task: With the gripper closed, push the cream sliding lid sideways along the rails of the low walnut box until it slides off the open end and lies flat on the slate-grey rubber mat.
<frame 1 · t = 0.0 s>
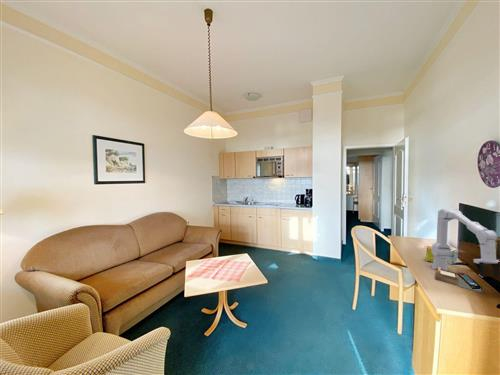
hand: (490, 276, 116), 11 cm above the table, tool pointing down, fingers open, 7 cm apart
slate mat: (468, 285, 126), on the table
lid: (446, 274, 133), point 3 cm above the table, touching walnut box
light bulb box: (448, 262, 160), on the table
walnut box: (445, 279, 133), on the table
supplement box: (430, 261, 161), on the table
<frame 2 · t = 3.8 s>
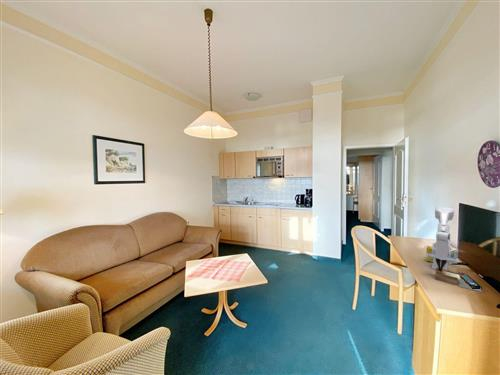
hand: (440, 270, 135), 5 cm above the table, tool pointing down, fingers closed
lid: (450, 276, 132), point 3 cm above the table, touching walnut box
everything else where it was.
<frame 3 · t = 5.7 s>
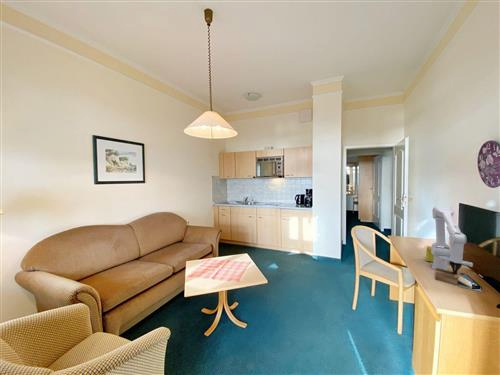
hand: (454, 274, 130), 5 cm above the table, tool pointing down, fingers closed
lid: (462, 280, 128), point 2 cm above the table, tilted 24°, touching gripper
everything else where it was.
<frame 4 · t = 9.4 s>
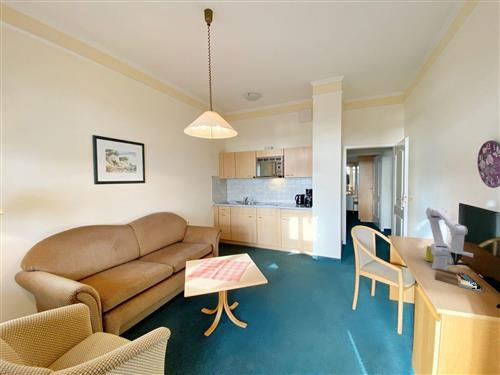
hand: (455, 264, 134), 9 cm above the table, tool pointing down, fingers closed
lid: (466, 284, 127), resting on slate mat
everything else where it was.
at the end: lid inside the target area on the slate mat (1.4 cm from its centre), point 0.3 cm above the slate mat's base; lid tilted 0°; lid moved 9.7 cm from its start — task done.
